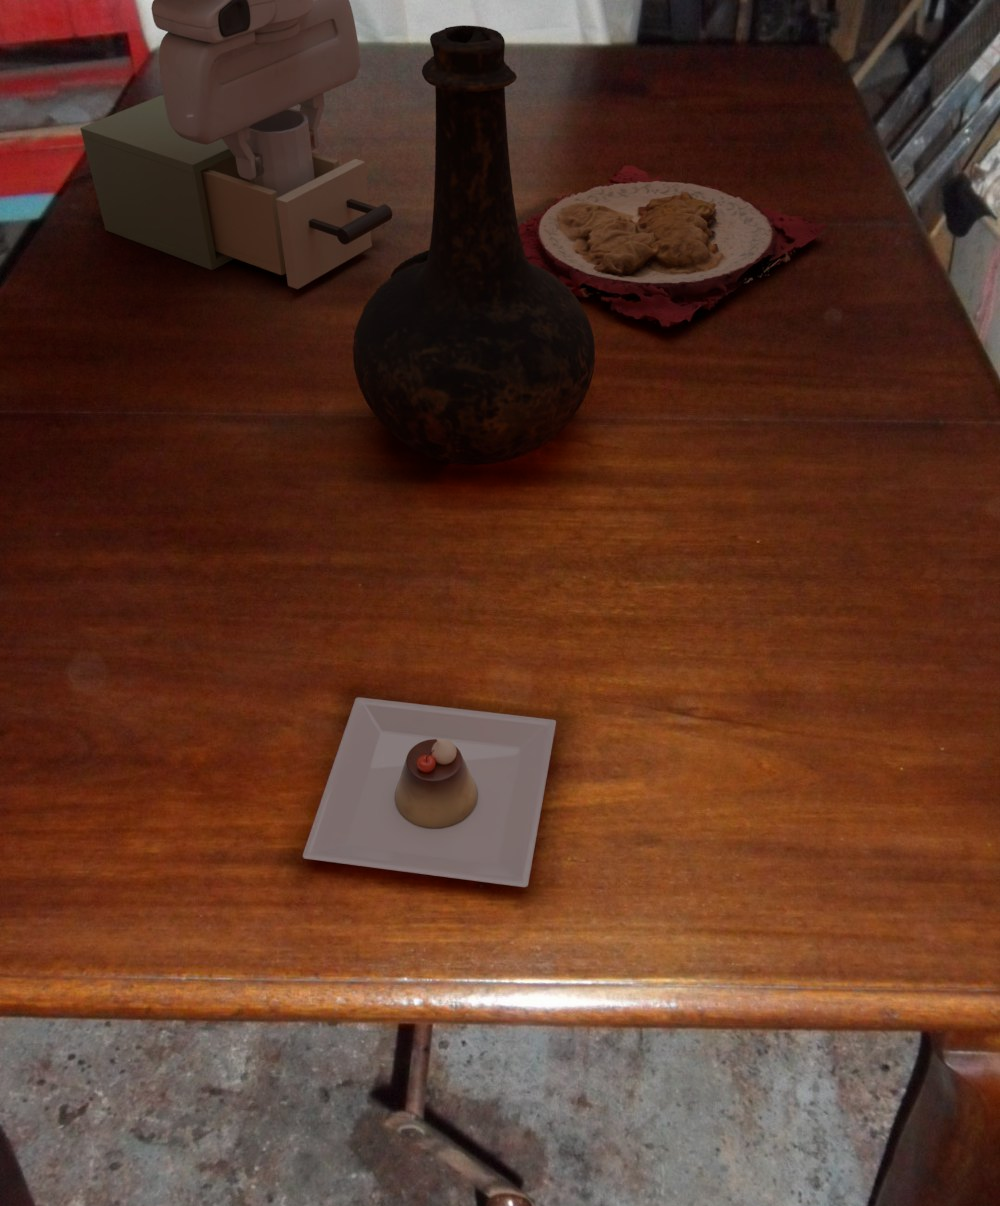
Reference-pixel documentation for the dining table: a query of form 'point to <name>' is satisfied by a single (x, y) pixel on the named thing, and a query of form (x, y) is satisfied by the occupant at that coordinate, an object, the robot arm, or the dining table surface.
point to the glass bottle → (473, 292)
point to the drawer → (293, 219)
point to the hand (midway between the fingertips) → (279, 162)
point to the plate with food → (659, 243)
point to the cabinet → (154, 182)
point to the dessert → (435, 792)
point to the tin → (283, 151)
